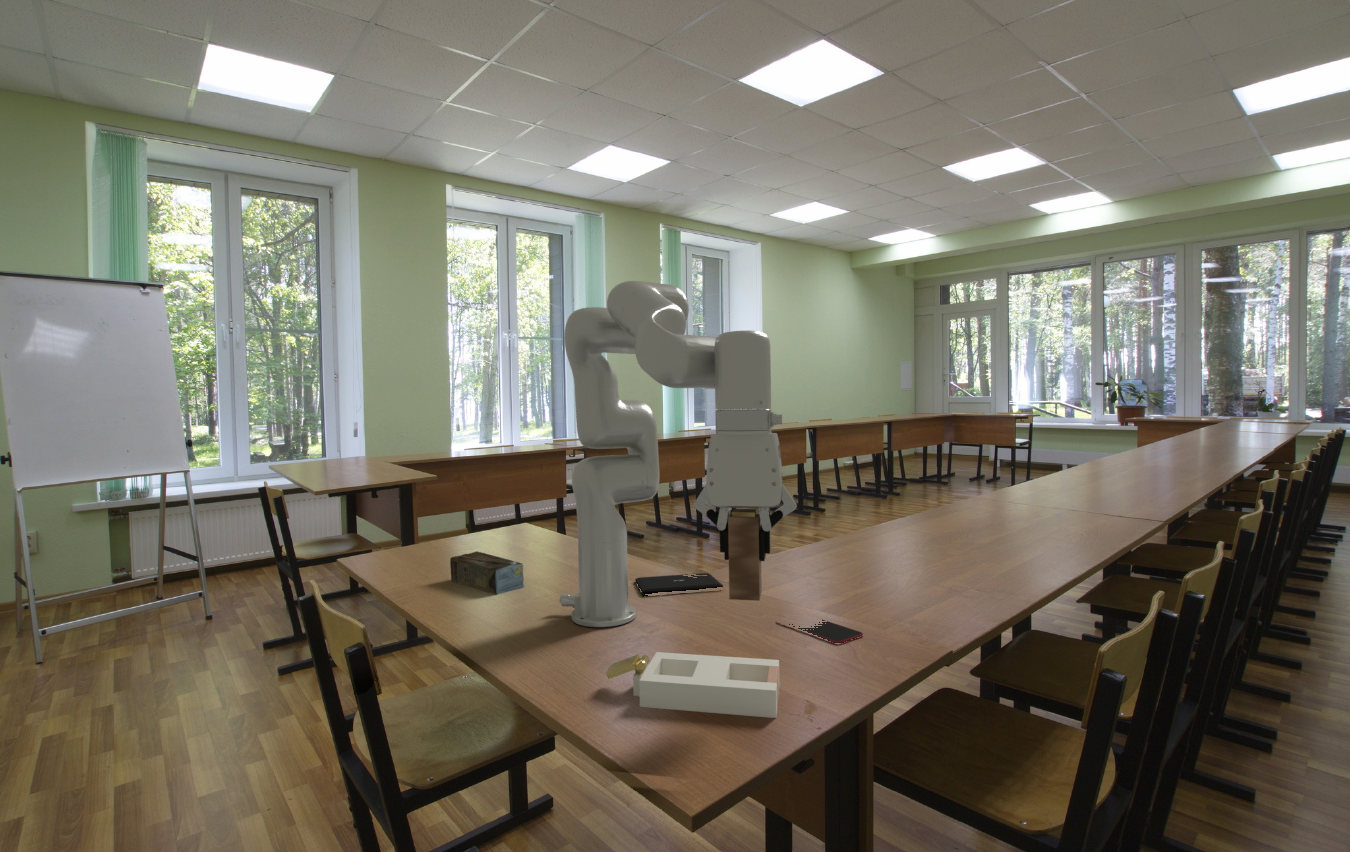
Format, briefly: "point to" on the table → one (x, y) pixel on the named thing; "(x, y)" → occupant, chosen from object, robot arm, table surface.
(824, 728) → the table surface
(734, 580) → the plug
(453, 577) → the beverage carton
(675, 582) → the laptop
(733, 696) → the white socket holder
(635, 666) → the latch tab
